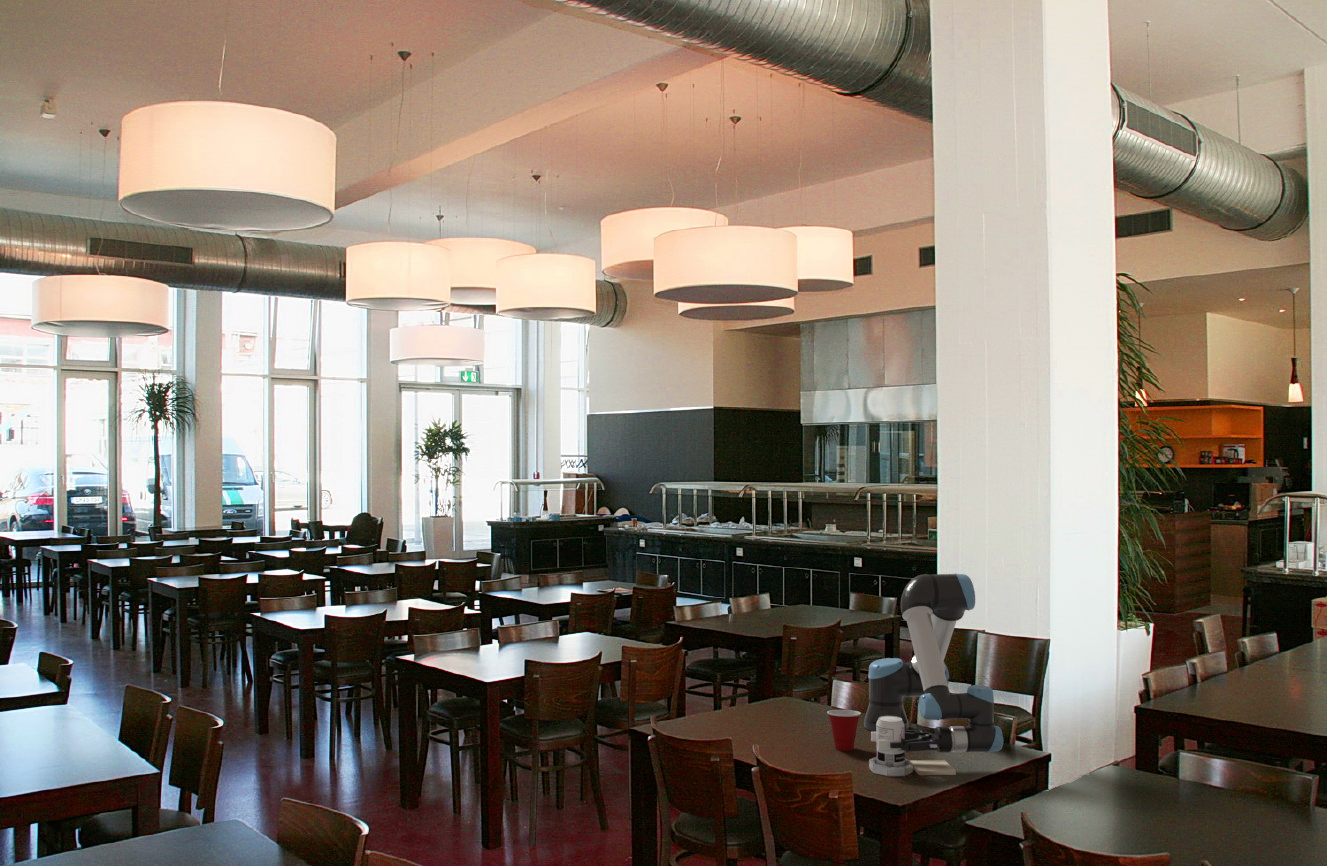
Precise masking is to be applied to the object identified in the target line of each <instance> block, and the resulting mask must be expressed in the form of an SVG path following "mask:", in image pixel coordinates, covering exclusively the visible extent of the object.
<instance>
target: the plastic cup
mask: <svg viewBox="0 0 1327 866" xmlns="http://www.w3.org/2000/svg"><path fill="white" fill-rule="evenodd" d="M826 713H827V715H828V718H829V722H830V728H831V732H832V739H833V743H834V749H835V750H837V751H841V752H851V751H853V750H854V747H855V740H856V737H857V736H856V735H857V729H858V725H859V724H858V723H859V719H860V715H861V714H862V712H860V711H858V710H853V709H852V710H851V709H831V710H828V711H826Z"/></svg>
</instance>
